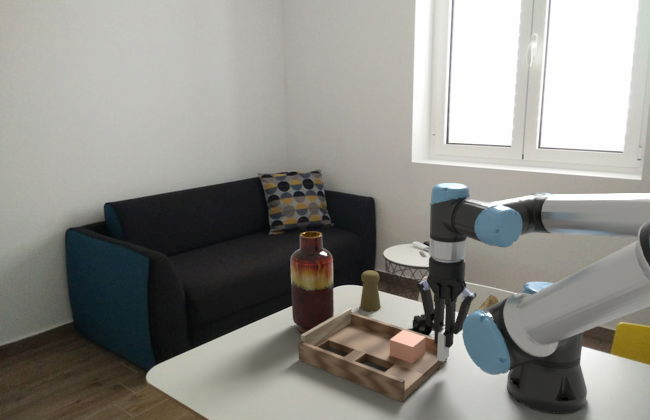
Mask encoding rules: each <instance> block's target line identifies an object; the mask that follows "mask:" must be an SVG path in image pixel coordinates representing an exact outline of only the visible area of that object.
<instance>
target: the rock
mask: <svg viewBox="0 0 650 420" xmlns="http://www.w3.org/2000/svg"><path fill="white" fill-rule="evenodd" d="M498 302H499V299H498V298H497V297H496V296H494V295H492V294H490V295H489V296H488V297H487V298H486V299H485V300H484V301H483V302H482V304H481V306H479V309H478V310H482V309H485V308H488V307H490V306H493V305H495V304H496V303H498Z"/></svg>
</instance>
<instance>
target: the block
mask: <svg viewBox="0 0 650 420" xmlns="http://www.w3.org/2000/svg"><path fill="white" fill-rule="evenodd" d="M425 345H426V337H424V336H421V335H418V334H415V333H411V332H408V331H405V330H402V331H401V332H400V333H398V334H397V335H395V336H394V337H393V338H391V339H390V356H393V357H396V358H399V359H401V360H404V361H407V362H410V363H414V362H415V361H416V360H417V359H418V358H420V357H421V356H422V355H423V354H424V353H425Z"/></svg>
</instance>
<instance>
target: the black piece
mask: <svg viewBox="0 0 650 420" xmlns="http://www.w3.org/2000/svg"><path fill="white" fill-rule="evenodd" d="M407 329H408V330H411V331H414V332H417V333H421V334H424V335H427V336H434V334H435V330H434V329H433V328H432V327H431V326H430V327H429V326H427V324H426V319H425V314H424V313H422V314H420V315H413V319H412V327H410V328H407Z"/></svg>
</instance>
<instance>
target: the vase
mask: <svg viewBox="0 0 650 420" xmlns="http://www.w3.org/2000/svg"><path fill="white" fill-rule="evenodd" d="M323 245H324V244H323V233H322V232H319V231H305V232H301V233H300V234H299V249H296V250H295V251H294V252H293V253H292V255H291V256H290V283H291V284H290V285H291V310H292V320H293V322H294V324H296V330H297V332H298V333H300V334H301V335H302V334H303V333H305V332H307V331H309V330H310V329H312V328H314V327H316V326H318V325H319V324H321V323H323V322H325V321H326V320H328V319H330V318H332V317H333V316H335V314H334V312H335V310H334V305H335V304H334V303H335V302H334V262H333V261H334V259H333V254H332V253H331V252H330V251H329V250H327V248H324V246H323Z"/></svg>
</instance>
